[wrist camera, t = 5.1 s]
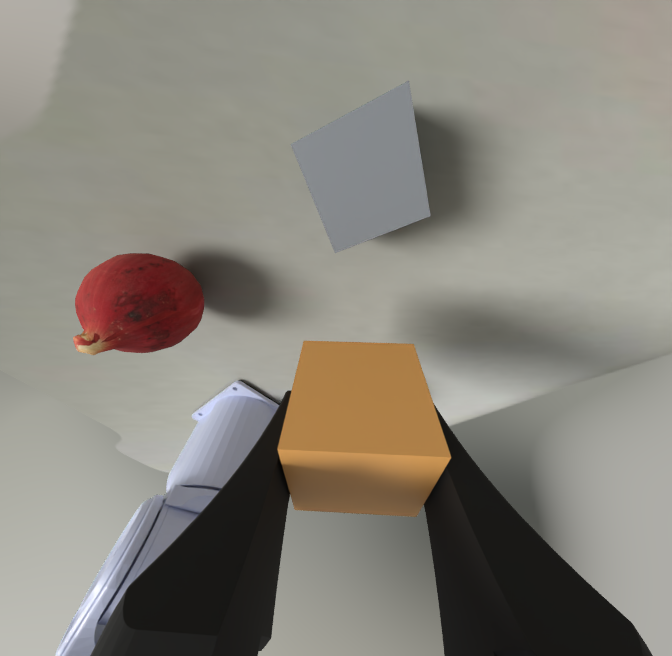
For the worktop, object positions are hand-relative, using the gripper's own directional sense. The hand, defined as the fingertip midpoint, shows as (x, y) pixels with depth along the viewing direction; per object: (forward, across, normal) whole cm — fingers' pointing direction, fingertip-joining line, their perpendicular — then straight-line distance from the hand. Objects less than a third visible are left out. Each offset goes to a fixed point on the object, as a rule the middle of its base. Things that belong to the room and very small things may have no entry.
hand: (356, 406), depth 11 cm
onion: (+9, +13, -2) cm, 16 cm away
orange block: (+2, 0, 0) cm, 2 cm away
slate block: (+9, 0, -8) cm, 12 cm away
